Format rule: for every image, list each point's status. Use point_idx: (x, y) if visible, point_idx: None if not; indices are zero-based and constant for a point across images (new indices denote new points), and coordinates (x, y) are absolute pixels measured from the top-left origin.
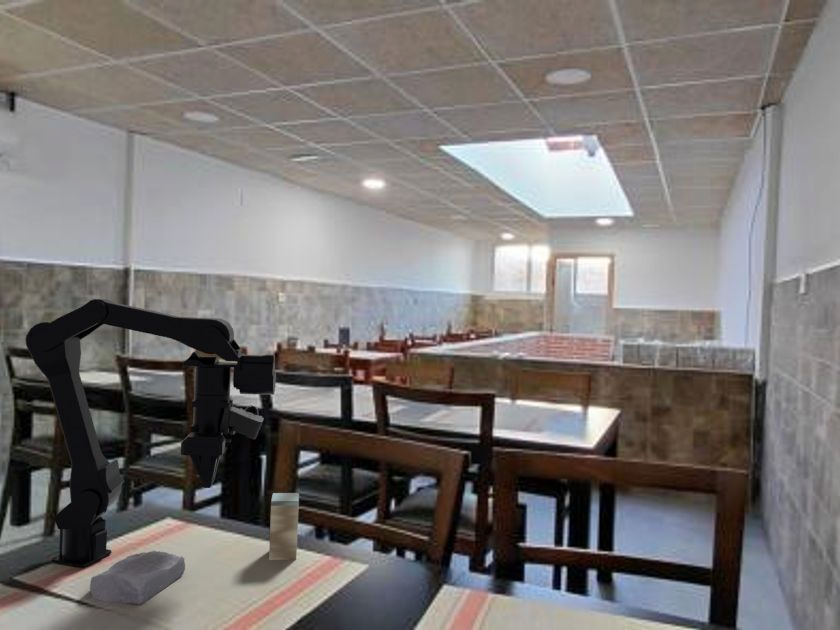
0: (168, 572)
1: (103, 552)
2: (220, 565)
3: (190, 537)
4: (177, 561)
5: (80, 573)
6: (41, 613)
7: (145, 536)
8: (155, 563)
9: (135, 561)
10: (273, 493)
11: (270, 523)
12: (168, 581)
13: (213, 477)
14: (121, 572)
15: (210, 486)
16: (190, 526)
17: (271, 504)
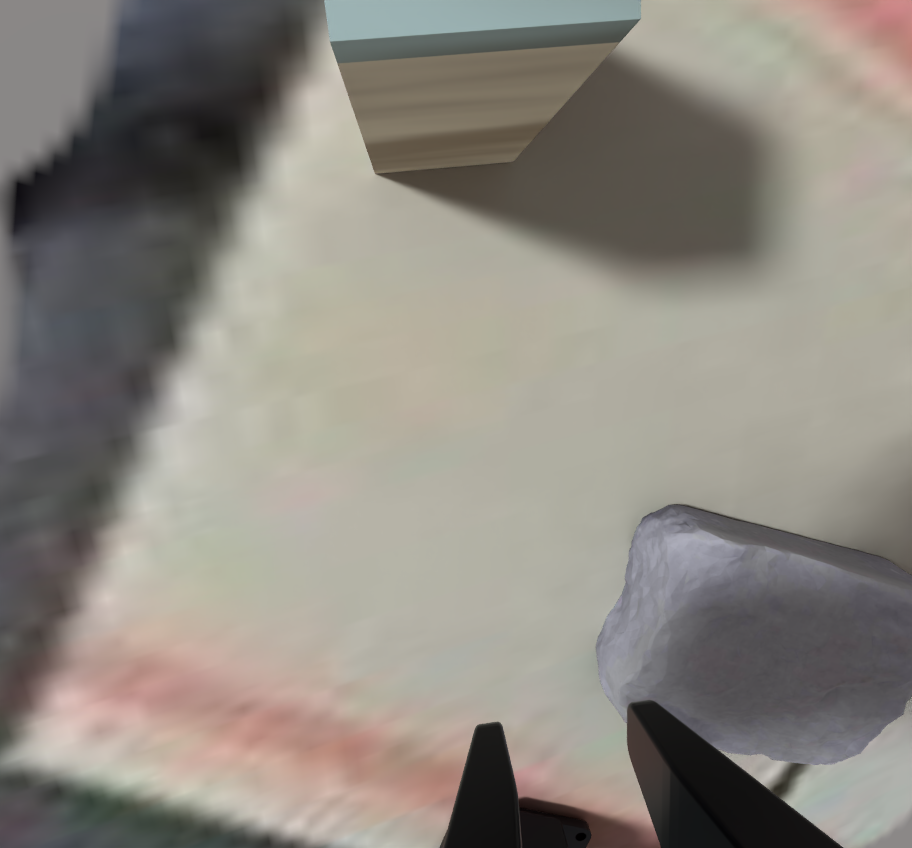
0: (795, 549)
1: (525, 822)
2: (572, 384)
3: (253, 597)
4: (755, 546)
5: (625, 807)
6: (881, 778)
7: (269, 760)
8: (787, 618)
9: (737, 693)
10: (340, 32)
11: (565, 100)
12: (768, 531)
13: (513, 775)
14: (905, 696)
15: (658, 708)
16: (107, 639)
17: (626, 31)
